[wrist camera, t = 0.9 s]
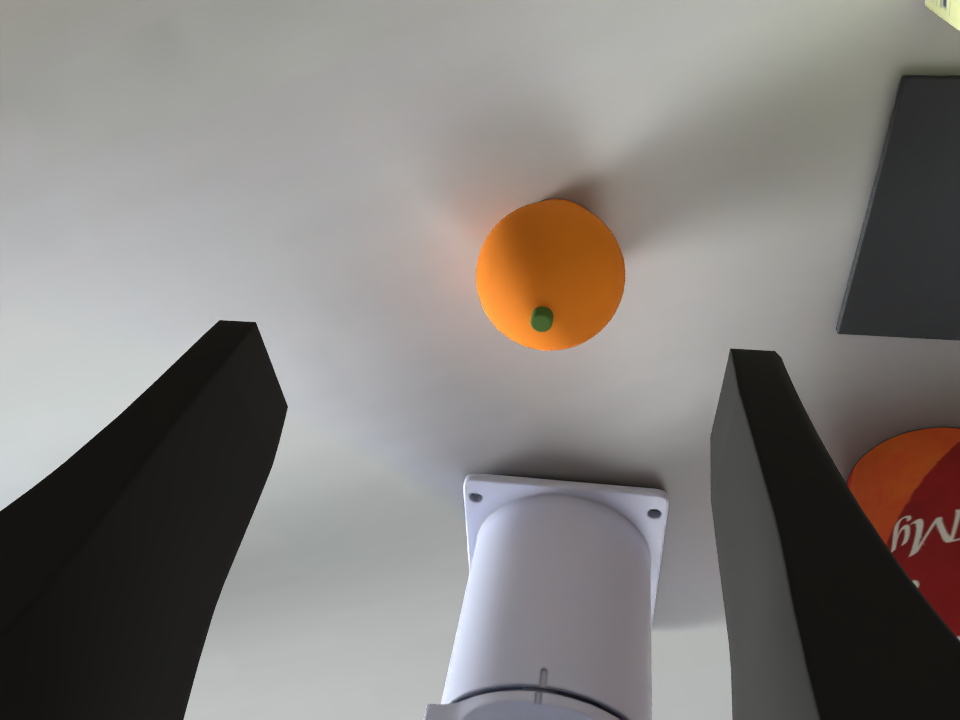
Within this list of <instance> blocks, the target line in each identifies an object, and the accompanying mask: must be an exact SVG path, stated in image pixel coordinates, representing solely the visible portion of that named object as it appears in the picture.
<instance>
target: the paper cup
mask: <svg viewBox="0 0 960 720" xmlns="http://www.w3.org/2000/svg"><path fill="white" fill-rule="evenodd" d="M847 486H848V487H849V489H850V491H851V492H852V494H853V495H854V497H855V499H856V500H857V502H858V503H859V505H860V507H861V508H862V510H863V511H864V513H865V514H866V516H867V517H868V519H869V520H870V522H871V523H872V525H873V526H874V528H875V529H876V531H877V532H878V534H879V535H880V537H881V538H882V540H883V541H884V543H885V544H886V546H887V547H888V548H889V550H890V551H891V553H892V554H893V556H894V557H895V558H896V560H897V561H898V562H899V564H900V565H901V567H902V568H903V569H904V571H905V572H906V573H907V575H908V576H909V578H910V579H911V580H912V581H913V583H914V584H915V585H916V587H917V588H918V589H919V591H920V592H921V593H922V594H923V596H924V597H925V598H926V600H927V601H928V602H929V604H930V605H931V606H932V607H933V609H934V610H935V611H936V612H937V614H938V615H939V616H940V617H941V618H942V620H943V621H944V622H945V623H946V625H947V626H948V627H949V628H950V629H951V631H952V632H953V633H954V634H955V636H956V637H957V638H958V639H959V640H960V429H957V428H929V429H921V430H916V431H912V432H908V433H904V434H901V435H898V436H896V437H893V438H891V439H889V440H887V441H885V442H883V443H881V444H879V445H878V446H876V447H875V448H873V449H872V450H870V451H869V452H868V453H867V454H866V455H864V456H863V457H862V458H861V459H860V461H859V462H858V463H857V464H856V465H855V467H854V468H853V470H852V472H851V474H850V476H849V479H848V483H847Z"/></svg>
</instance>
